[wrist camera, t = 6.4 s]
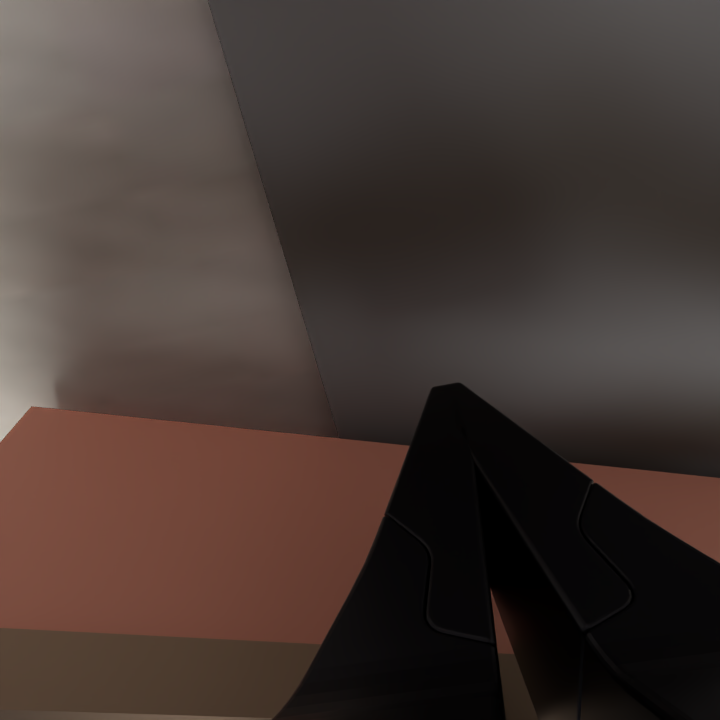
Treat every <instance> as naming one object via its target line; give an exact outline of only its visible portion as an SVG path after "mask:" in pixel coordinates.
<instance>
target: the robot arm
mask: <svg viewBox="0 0 720 720" xmlns="http://www.w3.org/2000/svg"><path fill="white" fill-rule="evenodd" d="M490 589H491V590H490ZM491 592H492V595H493V597H494V600H495V603H496V606H497V608H498V611H499V614H500V616H501V619H502V622H503V625H504V627H505V630H506V633H507V635H508V638H509V641H510V644H511V646H512V649H513V652H514V654H515V657H516V660H517V663H518V665H519V668H520V671H521V673H522V676H523V679H524V682H525V684H526V687H527V690H528V692H529V695H530V698H531V701H532V703H533V706H534V709H535V711H536V714H537V717H538V720H720V563H719V562H717V561H716V560H714V559H712V558H711V557H709V556H707V555H706V554H704V553H702V552H701V551H699V550H697V549H696V548H694V547H692V546H691V545H689V544H687V543H686V542H684V541H682V540H681V539H679V538H678V537H676V536H674V535H673V534H671V533H670V532H668V531H667V530H665V529H663V528H662V527H660V526H659V525H657V524H655V523H654V522H652V521H651V520H649V519H647V518H646V517H645V516H643V515H642V514H640V513H639V512H637V511H636V510H634V509H633V508H632V507H630V506H629V505H627V504H626V503H624V502H623V501H622V500H620V499H619V498H617V497H616V496H614V495H613V494H612V493H610V492H609V491H608V490H606V489H605V488H604V487H602V486H601V485H600V484H598V483H594V481H593V480H592V479H591V478H590V477H588V476H587V475H586V474H584V473H583V472H582V471H580V470H579V469H577V468H576V467H575V466H573V465H572V464H571V463H569V462H568V461H567V460H565V459H564V458H563V457H561V456H560V455H559V454H557V453H556V452H554V451H553V450H552V449H550V448H549V447H548V446H546V445H545V444H544V443H542V442H541V441H540V440H538V439H537V438H535V437H534V436H533V435H531V434H530V433H529V432H527V431H526V430H525V429H523V428H522V427H521V426H519V425H518V424H516V423H515V422H514V421H512V420H511V419H510V418H508V417H507V416H506V415H504V414H503V413H502V412H500V411H499V410H497V409H496V408H495V407H493V406H492V405H491V404H489V403H488V402H487V401H485V400H484V399H483V398H481V397H480V396H479V395H477V394H476V393H474V392H473V391H472V390H470V389H469V388H468V387H466V386H465V385H464V384H462V383H460V382H456V383H451V384H445V385H440V386H434V387H432V388H431V390H430V392H429V395H428V398H427V400H426V403H425V406H424V408H423V411H422V414H421V416H420V419H419V422H418V424H417V427H416V430H415V432H414V435H413V438H412V441H411V443H410V446H409V449H408V451H407V454H406V457H405V459H404V462H403V465H402V467H401V470H400V473H399V475H398V478H397V481H396V483H395V486H394V489H393V491H392V494H391V497H390V500H389V502H388V505H387V508H386V510H385V513H384V517H383V518H382V520H381V523H380V526H379V528H378V531H377V534H376V536H375V539H374V541H373V544H372V546H371V548H370V551H369V553H368V555H367V558H366V560H365V563H364V565H363V567H362V569H361V571H360V573H359V575H358V577H357V579H356V580H355V582H354V584H353V586H352V588H351V590H350V592H349V594H348V596H347V598H346V600H345V602H344V603H343V605H342V607H341V609H340V611H339V613H338V614H337V616H336V618H335V620H334V622H333V624H332V625H331V627H330V629H329V631H328V633H327V635H326V636H325V638H324V640H323V642H322V644H321V646H320V647H319V649H318V651H317V653H316V655H315V657H314V659H313V660H312V662H311V664H310V666H309V668H308V670H307V671H306V673H305V675H304V677H303V678H302V680H301V682H300V684H299V685H298V687H297V688H296V690H295V691H294V693H293V694H292V696H291V697H290V698H289V700H288V701H287V702H286V704H285V705H284V706H283V707H282V709H281V710H280V711H279V712H278V713H277V714H276V715H275V716H274V718H273V719H272V720H506V716H505V708H504V700H503V691H502V683H501V675H500V666H499V658H498V650H497V641H496V632H495V624H494V615H493V607H492V598H491Z"/></svg>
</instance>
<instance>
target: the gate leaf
mask: <svg viewBox="0 0 720 720" xmlns="http://www.w3.org/2000/svg"><path fill="white" fill-rule="evenodd" d="M408 449H409V446H407V445H398V444H388V443H378V442H369V441H359V440H350V439H340V438H330V437H321V436H311V435H302V434H292V433H282V432H273V431H263V430H253V429H244V428H234V427H225V426H215V425H205V424H196V423H186V422H176V421H167V420H157V419H148V418H138V417H128V416H119V415H109V414H100V413H90V412H80V411H71V410H61V409H51V408H42V407H31V408H30V409H29V410H28V411H27V412H26V413H25V415H24V416H23V417H22V418H21V419H20V420H19V421H18V423H17V424H16V425H15V426H14V427H13V428H12V430H11V431H10V432H9V433H8V434H7V435H6V436H5V438H4V439H3V440H2V441H1V442H0V720H272V719H273V718H274V716H275V715H276V714H277V713H278V712H279V711H280V710H281V709H282V707H283V706H284V705H285V704H286V702H287V701H288V700H289V698H290V697H291V696H292V694H293V693H294V691H295V690H296V688H297V687H298V685H299V684H300V682H301V680H302V678H303V677H304V675H305V673H306V671H307V670H308V668H309V666H310V664H311V662H312V660H313V659H314V657H315V655H316V653H317V651H318V649H319V647H320V646H321V644H322V642H323V640H324V638H325V636H326V635H327V633H328V631H329V629H330V627H331V625H332V624H333V622H334V620H335V618H336V616H337V614H338V613H339V611H340V609H341V607H342V605H343V603H344V602H345V600H346V598H347V596H348V594H349V592H350V590H351V588H352V586H353V584H354V582H355V580H356V579H357V577H358V575H359V573H360V571H361V569H362V567H363V565H364V563H365V560H366V558H367V555H368V553H369V551H370V548H371V546H372V544H373V541H374V539H375V536H376V534H377V531H378V528H379V526H380V523H381V520H382V518H383V517H384V513H385V510H386V508H387V505H388V502H389V500H390V497H391V494H392V491H393V489H394V486H395V483H396V481H397V478H398V475H399V473H400V470H401V467H402V465H403V462H404V459H405V457H406V454H407V451H408ZM569 463H571V462H569ZM571 464H572V465H573V466H575V467H576V468H577V469H579V470H580V471H582V472H583V473H584V474H586V475H587V476H588V477H590V478H591V479H592V480H593V481H594V483H598V484H600V485H601V486H602V487H604V488H605V489H606V490H608V491H609V492H610V493H612V494H613V495H614V496H616V497H617V498H619V499H620V500H622V501H623V502H624V503H626V504H627V505H629V506H630V507H632V508H633V509H634V510H636V511H637V512H639V513H640V514H642V515H643V516H645V517H646V518H647V519H649V520H651V521H652V522H654V523H655V524H657V525H659V526H660V527H662V528H663V529H665V530H667V531H668V532H670V533H671V534H673V535H674V536H676V537H678V538H679V539H681V540H682V541H684V542H686V543H687V544H689V545H691V546H692V547H694V548H696V549H697V550H699V551H701V552H702V553H704V554H706V555H707V556H709V557H711V558H712V559H714V560H716V561H717V562H719V563H720V478H715V477H706V476H696V475H686V474H677V473H667V472H657V471H648V470H638V469H629V468H619V467H609V466H600V465H590V464H580V463H571ZM490 590H491V589H490ZM491 598H492V607H493V615H494V624H495V632H496V641H497V650H498V658H499V666H500V675H501V683H502V691H503V700H504V708H505V716H506V720H538V717H537V714H536V711H535V709H534V706H533V703H532V701H531V698H530V695H529V692H528V690H527V687H526V684H525V682H524V679H523V676H522V673H521V671H520V668H519V665H518V663H517V660H516V657H515V654H514V652H513V649H512V646H511V644H510V641H509V638H508V635H507V633H506V630H505V627H504V625H503V622H502V619H501V616H500V614H499V611H498V608H497V606H496V603H495V600H494V597H493V595H492V592H491Z"/></svg>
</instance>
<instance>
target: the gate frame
mask: <svg viewBox="0 0 720 720" xmlns="http://www.w3.org/2000/svg"><path fill="white" fill-rule="evenodd" d="M208 3H209V6H210V10H211V13H212V16H213V20H214V23H215V26H216V29H217V33H218V36H219V39H220V43H221V46H222V49H223V53H224V56H225V59H226V63H227V66H228V69H229V73H230V76H231V79H232V83H233V86H234V89H235V93H236V96H237V99H238V103H239V106H240V109H241V113H242V116H243V119H244V123H245V126H246V129H247V133H248V136H249V139H250V143H251V146H252V149H253V153H254V156H255V159H256V163H257V166H258V169H259V173H260V176H261V179H262V183H263V186H264V189H265V193H266V196H267V199H268V203H269V206H270V209H271V212H272V216H273V219H274V222H275V226H276V229H277V232H278V236H279V239H280V242H281V246H282V249H283V252H284V256H285V259H286V262H287V266H288V269H289V272H290V276H291V279H292V282H293V286H294V289H295V292H296V296H297V299H298V302H299V306H300V309H301V312H302V316H303V319H304V322H305V326H306V329H307V332H308V336H309V339H310V342H311V346H312V349H313V352H314V356H315V359H316V362H317V366H318V369H319V372H320V376H321V379H322V382H323V386H324V389H325V392H326V395H327V399H328V402H329V405H330V409H331V412H332V415H333V419H334V422H335V425H336V429H337V432H338V435H339V438H340V439H350V440H359V441H369V442H378V443H388V444H398V445H407V446H410V443H411V441H412V438H413V435H414V432H415V430H416V427H417V424H418V422H419V419H420V416H421V414H422V411H423V408H424V406H425V403H426V400H427V398H428V395H429V392H430V390H431V388H432V387H434V386H440V385H445V384H451V383H456V382H460V383H462V384H464V385H465V386H466V387H468V388H469V389H470V390H472V391H473V392H474V393H476V394H477V395H479V396H480V397H481V398H483V399H484V400H485V401H487V402H488V403H489V404H491V405H492V406H493V407H495V408H496V409H497V410H499V411H500V412H502V413H503V414H504V415H506V416H507V417H508V418H510V419H511V420H512V421H514V422H515V423H516V424H518V425H519V426H521V427H522V428H523V429H525V430H526V431H527V432H529V433H530V434H531V435H533V436H534V437H535V438H537V439H538V440H540V441H541V442H542V443H544V444H545V445H546V446H548V447H549V448H550V449H552V450H553V451H554V452H556V453H557V454H559V455H560V456H561V457H563V458H564V459H565V460H567V461H568V462H571V463H580V464H590V465H600V466H609V467H619V468H629V469H638V470H648V471H657V472H667V473H677V474H686V475H696V476H706V477H715V478H720V0H208Z"/></svg>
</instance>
